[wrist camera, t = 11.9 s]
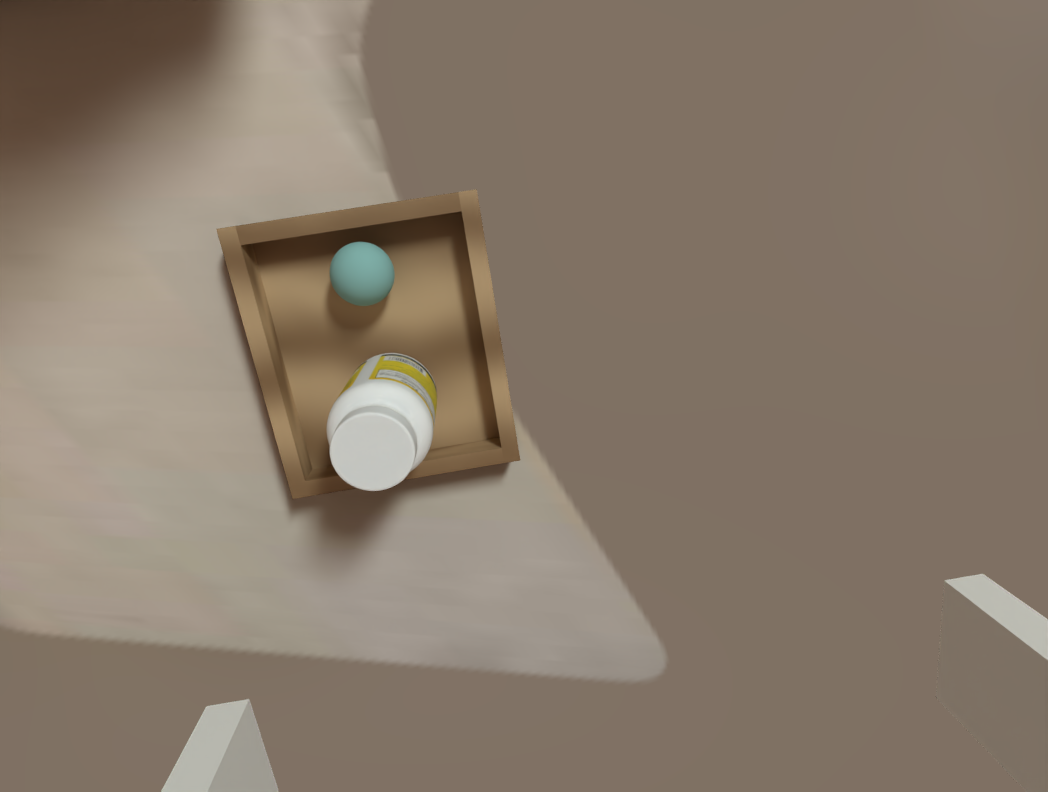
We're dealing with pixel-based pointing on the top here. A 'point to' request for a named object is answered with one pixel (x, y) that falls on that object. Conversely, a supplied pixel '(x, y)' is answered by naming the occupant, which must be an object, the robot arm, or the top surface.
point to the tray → (374, 328)
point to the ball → (362, 273)
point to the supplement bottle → (382, 422)
